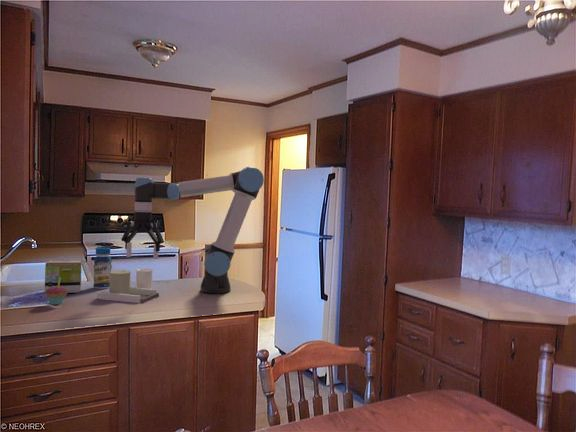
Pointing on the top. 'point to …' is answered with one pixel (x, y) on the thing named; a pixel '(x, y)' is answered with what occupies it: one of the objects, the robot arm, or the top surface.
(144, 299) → the trap pocket
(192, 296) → the top surface
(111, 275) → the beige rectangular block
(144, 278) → the white cup
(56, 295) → the cupcake
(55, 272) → the tea box
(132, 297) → the tube channel
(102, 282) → the beverage bottle
